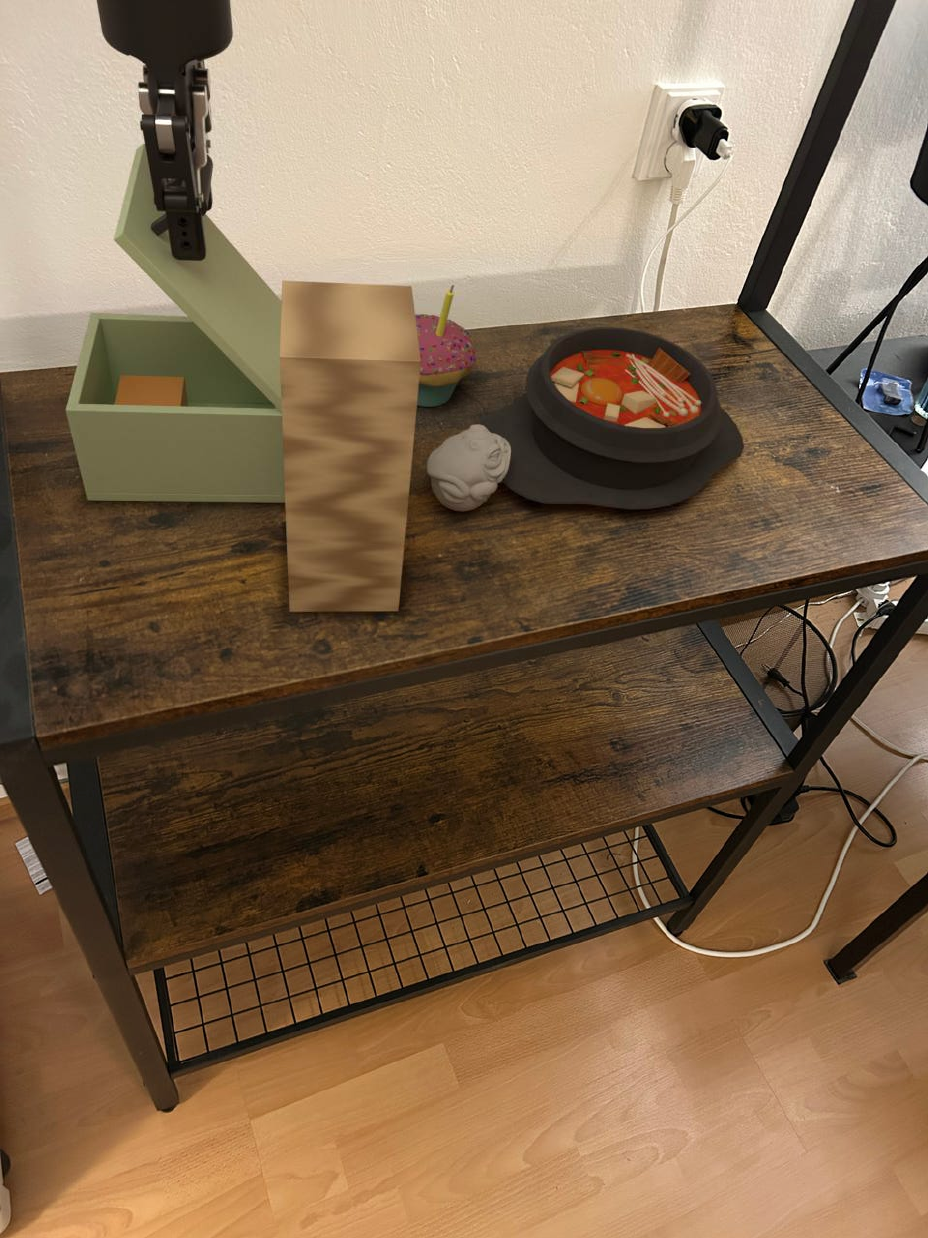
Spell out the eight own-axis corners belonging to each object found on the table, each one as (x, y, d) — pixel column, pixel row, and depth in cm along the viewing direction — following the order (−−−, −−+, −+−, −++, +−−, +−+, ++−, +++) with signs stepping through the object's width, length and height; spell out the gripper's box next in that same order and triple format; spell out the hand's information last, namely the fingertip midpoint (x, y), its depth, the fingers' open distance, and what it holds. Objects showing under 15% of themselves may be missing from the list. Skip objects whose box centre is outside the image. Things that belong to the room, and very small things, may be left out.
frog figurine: (515, 517, 80) (528, 451, 75) (438, 536, 78) (446, 469, 73) (483, 471, 84) (494, 405, 79) (409, 487, 81) (415, 420, 76)
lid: (112, 239, 60) (174, 194, 59) (136, 148, 68) (190, 107, 67) (281, 412, 72) (337, 379, 70) (284, 317, 80) (334, 285, 78)
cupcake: (488, 396, 91) (506, 280, 82) (424, 433, 86) (437, 313, 77) (423, 354, 94) (434, 237, 85) (359, 387, 90) (363, 267, 81)
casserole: (667, 371, 97) (691, 296, 90) (778, 491, 86) (814, 415, 80) (439, 416, 88) (448, 336, 82) (533, 556, 78) (551, 476, 71)
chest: (87, 500, 76) (65, 409, 70) (108, 401, 84) (90, 312, 78) (288, 503, 79) (285, 415, 72) (290, 406, 87) (288, 319, 80)
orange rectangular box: (123, 460, 78) (113, 410, 75) (129, 424, 81) (120, 374, 78) (186, 461, 79) (179, 411, 75) (190, 425, 82) (184, 376, 78)
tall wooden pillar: (289, 612, 71) (279, 356, 55) (290, 535, 76) (282, 279, 60) (398, 611, 72) (421, 360, 56) (392, 535, 77) (411, 285, 61)
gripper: (105, -95, 58) (148, 181, 71) (67, -12, 49) (125, 287, 62) (232, -85, 59) (252, 185, 72) (218, -2, 50) (244, 290, 63)
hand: (193, 231), depth 67 cm, fingers closed on lid, 6 cm apart
